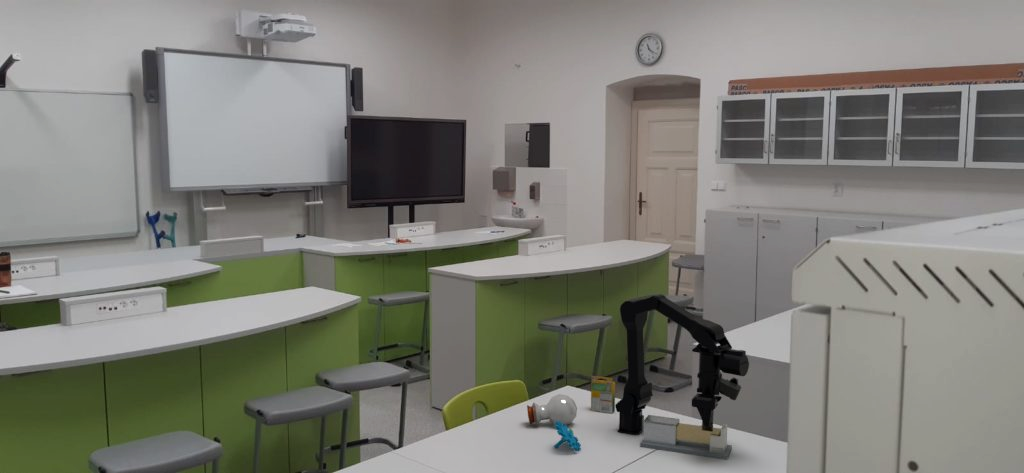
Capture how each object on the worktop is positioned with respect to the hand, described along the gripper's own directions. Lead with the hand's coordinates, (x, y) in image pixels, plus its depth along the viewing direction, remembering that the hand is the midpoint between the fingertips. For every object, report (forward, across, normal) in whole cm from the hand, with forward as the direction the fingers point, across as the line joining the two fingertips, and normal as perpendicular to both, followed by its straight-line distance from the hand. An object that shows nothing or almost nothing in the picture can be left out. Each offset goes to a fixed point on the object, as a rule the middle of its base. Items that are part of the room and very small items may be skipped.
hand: (707, 424), depth 220 cm
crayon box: (+8, +23, +37) cm, 44 cm away
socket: (+8, 0, -3) cm, 8 cm away
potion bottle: (+8, +3, +47) cm, 48 cm away
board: (+8, 0, +6) cm, 9 cm away
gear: (+8, -14, +36) cm, 40 cm away
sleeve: (+8, 0, +13) cm, 15 cm away
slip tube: (+5, 0, +4) cm, 6 cm away
